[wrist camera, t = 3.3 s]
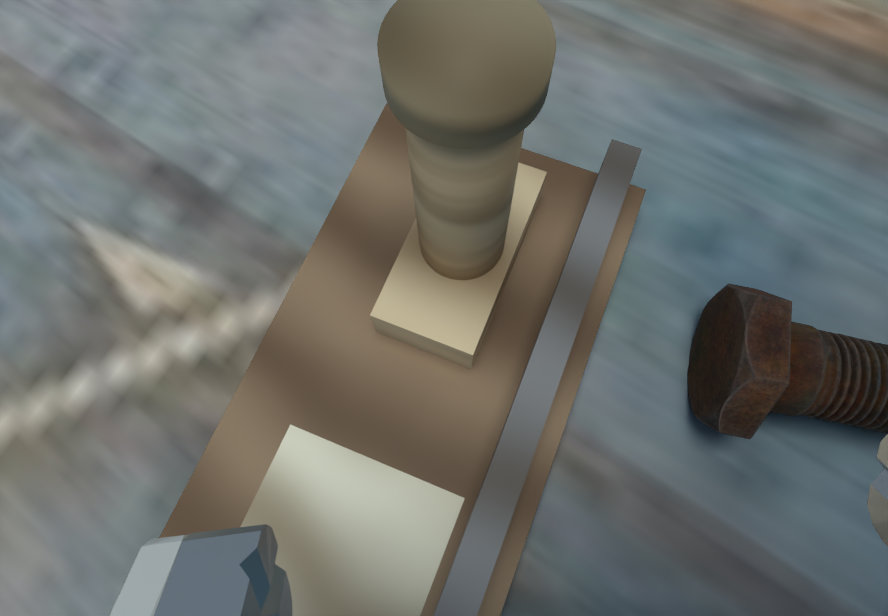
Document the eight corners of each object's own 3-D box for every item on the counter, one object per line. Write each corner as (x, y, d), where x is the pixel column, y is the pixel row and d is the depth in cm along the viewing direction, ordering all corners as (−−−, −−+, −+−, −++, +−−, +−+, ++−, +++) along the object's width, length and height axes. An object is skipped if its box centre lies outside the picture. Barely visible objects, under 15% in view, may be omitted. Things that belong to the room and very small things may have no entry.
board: (389, 123, 30) (380, 64, 26) (636, 207, 28) (664, 156, 24) (85, 713, 22) (8, 751, 18) (404, 880, 20) (392, 960, 16)
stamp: (452, 167, 27) (450, -102, 16) (540, 197, 27) (605, -59, 15) (376, 331, 25) (307, 156, 13) (471, 369, 24) (486, 219, 13)
